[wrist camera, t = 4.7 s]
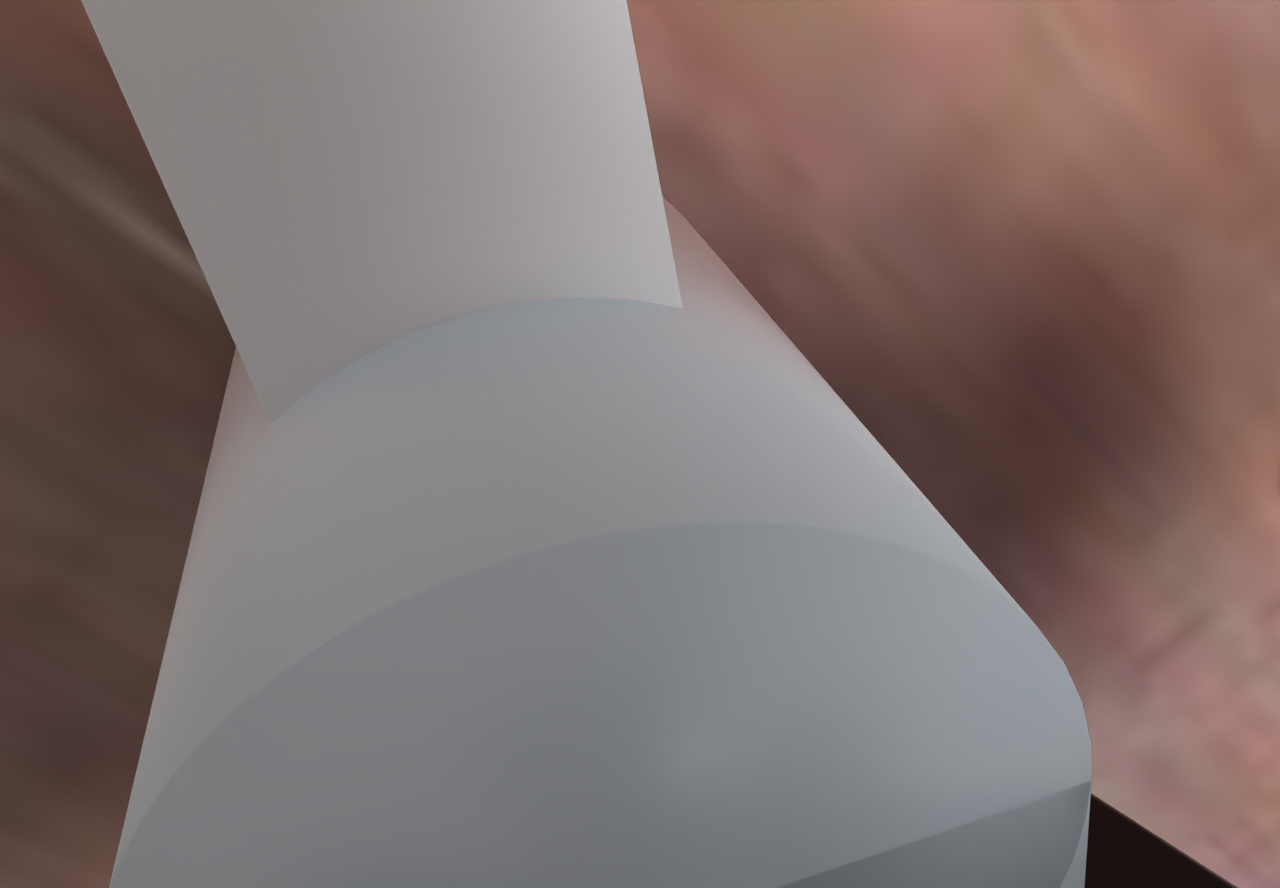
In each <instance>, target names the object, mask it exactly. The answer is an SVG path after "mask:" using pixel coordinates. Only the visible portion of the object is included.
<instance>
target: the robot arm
mask: <svg viewBox="0 0 1280 888" xmlns="http://www.w3.org/2000/svg"><path fill="white" fill-rule="evenodd" d="M1084 888H1238V887H1236V886H1234V885H1233V884H1231V883H1230V882H1228V881H1227V880H1225V879H1224V878H1222V877H1220V876H1219V875H1217V874H1216V873H1214V872H1213V871H1211V870H1210V869H1208V868H1206V867H1205V866H1203V865H1202V864H1200V863H1199V862H1197V861H1195V860H1194V859H1192V858H1191V857H1189V856H1188V855H1186V854H1185V853H1183V852H1181V851H1180V850H1178V849H1177V848H1175V847H1174V846H1172V845H1171V844H1169V843H1167V842H1166V841H1164V840H1163V839H1161V838H1160V837H1158V836H1157V835H1155V834H1153V833H1152V832H1150V831H1149V830H1147V829H1146V828H1144V827H1143V826H1141V825H1139V824H1138V823H1136V822H1135V821H1133V820H1132V819H1130V818H1129V817H1127V816H1125V815H1124V814H1122V813H1121V812H1119V811H1118V810H1116V809H1114V808H1113V807H1111V806H1110V805H1108V804H1107V803H1105V802H1104V801H1102V800H1100V799H1099V798H1097V797H1096V796H1094V795H1093V794H1091V798H1090V813H1089V827H1088V842H1087V857H1086V872H1085V886H1084Z"/></svg>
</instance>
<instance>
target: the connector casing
mask: <svg viewBox="0 0 1280 888" xmlns="http://www.w3.org/2000/svg"><path fill="white" fill-rule="evenodd" d="M81 2H82V4H83V6H84V8H85V10H86V13H87V15H88V17H89V19H90V22H91V24H92V26H93V28H94V31H95V33H96V35H97V37H98V39H99V42H100V44H101V46H102V48H103V51H104V53H105V55H106V57H107V60H108V62H109V64H110V66H111V68H112V71H113V73H114V75H115V77H116V80H117V82H118V84H119V86H120V89H121V91H122V93H123V95H124V97H125V100H126V102H127V104H128V106H129V109H130V111H131V113H132V115H133V118H134V120H135V122H136V124H137V126H138V129H139V131H140V133H141V135H142V138H143V140H144V142H145V144H146V147H147V149H148V151H149V153H150V155H151V158H152V160H153V162H154V164H155V167H156V169H157V171H158V173H159V176H160V178H161V180H162V182H163V184H164V187H165V189H166V191H167V193H168V196H169V198H170V200H171V202H172V205H173V207H174V209H175V211H176V213H177V216H178V218H179V220H180V222H181V225H182V227H183V229H184V231H185V234H186V236H187V238H188V240H189V242H190V245H191V247H192V249H193V251H194V254H195V256H196V258H197V260H198V263H199V265H200V267H201V269H202V272H203V274H204V276H205V278H206V280H207V283H208V285H209V287H210V289H211V292H212V294H213V296H214V298H215V301H216V303H217V305H218V307H219V309H220V312H221V314H222V316H223V318H224V321H225V323H226V325H227V327H228V330H229V332H230V334H231V336H232V338H233V341H234V343H235V345H236V348H235V353H234V357H233V361H232V365H231V370H230V374H229V378H228V383H227V387H226V391H225V395H224V400H223V404H222V408H221V412H220V417H219V421H218V425H217V429H216V434H215V438H214V442H213V446H212V451H211V455H210V459H209V464H208V468H207V472H206V476H205V481H204V485H203V489H202V493H201V498H200V502H199V506H198V510H197V515H196V519H195V523H194V528H193V532H192V536H191V540H190V545H189V549H188V553H187V557H186V562H185V566H184V570H183V574H182V579H181V583H180V587H179V591H178V596H177V600H176V604H175V609H174V613H173V617H172V621H171V626H170V630H169V634H168V638H167V643H166V647H165V651H164V655H163V660H162V664H161V668H160V673H159V677H158V681H157V685H156V690H155V694H154V698H153V702H152V707H151V711H150V715H149V719H148V724H147V728H146V732H145V736H144V741H143V745H142V749H141V754H140V758H139V762H138V766H137V771H136V775H135V779H134V783H133V788H132V792H131V796H130V800H129V805H128V809H127V813H126V818H125V822H124V826H123V830H122V835H121V839H120V843H119V847H118V852H117V856H116V860H115V864H114V869H113V873H112V877H111V882H110V886H109V888H1084V886H1085V872H1086V857H1087V842H1088V827H1089V813H1090V798H1091V783H1092V775H1091V740H1090V735H1089V731H1088V727H1087V722H1086V718H1085V713H1084V709H1083V704H1082V700H1081V698H1080V696H1079V694H1078V692H1077V690H1076V687H1075V685H1074V683H1073V681H1072V679H1071V676H1070V674H1069V672H1068V670H1067V668H1066V666H1065V663H1064V662H1063V660H1062V659H1061V658H1060V656H1059V655H1058V654H1057V652H1056V651H1055V650H1054V648H1053V647H1052V646H1051V644H1050V643H1049V642H1048V640H1047V639H1046V638H1045V636H1044V635H1043V634H1042V632H1041V631H1040V630H1039V628H1038V627H1037V626H1036V625H1035V623H1034V622H1033V621H1032V620H1031V619H1030V618H1029V616H1028V615H1027V614H1026V613H1025V612H1024V611H1023V609H1022V608H1021V607H1020V606H1019V605H1018V604H1017V603H1016V601H1015V600H1014V599H1013V598H1012V597H1011V596H1010V594H1009V593H1008V592H1007V591H1006V590H1005V589H1004V587H1003V586H1002V585H1001V584H1000V583H999V582H998V580H997V579H996V578H995V577H994V576H993V575H992V574H991V572H990V571H989V570H988V569H987V568H986V567H985V565H984V564H983V563H982V562H981V561H980V560H979V558H978V557H977V556H976V555H975V554H974V553H973V551H972V550H971V549H970V548H969V547H968V546H967V545H966V543H965V542H964V541H963V540H962V539H961V538H960V536H959V535H958V534H957V533H956V532H955V531H954V529H953V528H952V527H951V526H950V525H949V524H948V522H947V521H946V520H945V519H944V518H943V517H942V516H941V514H940V513H939V512H938V511H937V510H936V509H935V507H934V506H933V505H932V504H931V503H930V502H929V500H928V499H927V498H926V497H925V496H924V495H923V493H922V492H921V491H920V490H919V489H918V488H917V486H916V485H915V484H914V483H913V482H912V481H911V480H910V478H909V477H908V476H907V475H906V474H905V473H904V471H903V470H902V469H901V468H900V467H899V466H898V464H897V463H896V462H895V461H894V460H893V459H892V457H891V456H890V455H889V454H888V453H887V452H886V451H885V449H884V448H883V447H882V446H881V445H880V444H879V442H878V441H877V440H876V439H875V438H874V437H873V435H872V434H871V433H870V432H869V431H868V430H867V428H866V427H865V426H864V425H863V424H862V423H861V422H860V420H859V419H858V418H857V417H856V416H855V415H854V413H853V412H852V411H851V410H850V409H849V408H848V406H847V405H846V404H845V403H844V402H843V401H842V399H841V398H840V397H839V396H838V395H837V394H836V393H835V391H834V390H833V389H832V388H831V387H830V386H829V384H828V383H827V382H826V381H825V380H824V379H823V377H822V376H821V375H820V374H819V373H818V372H817V370H816V369H815V368H814V367H813V366H812V365H811V364H810V362H809V361H808V360H807V359H806V358H805V357H804V355H803V354H802V353H801V352H800V351H799V350H798V348H797V347H796V346H795V345H794V344H793V343H792V341H791V340H790V339H789V338H788V337H787V336H786V334H785V333H784V332H783V331H782V330H781V329H780V328H779V326H778V325H777V324H776V323H775V322H774V321H773V319H772V318H771V317H770V316H769V315H768V314H767V312H766V311H765V310H764V309H763V308H762V307H761V305H760V304H759V303H758V302H757V301H756V300H755V299H754V297H753V296H752V295H751V294H750V293H749V292H748V290H747V289H746V288H745V287H744V286H743V285H742V283H741V282H740V281H739V280H738V279H737V278H736V276H735V275H734V274H733V273H732V272H731V271H730V270H729V268H728V267H727V266H726V265H725V264H724V263H723V261H722V260H721V259H720V258H719V257H718V256H717V254H716V253H715V252H714V251H713V250H712V249H711V247H710V246H709V245H708V244H707V243H706V242H705V241H704V239H703V238H702V237H701V236H700V235H699V234H698V232H697V231H696V230H695V229H694V228H693V227H692V225H691V224H690V223H689V222H688V221H687V220H686V218H685V217H684V216H683V215H682V214H681V213H680V212H679V211H678V210H677V209H676V208H675V207H674V206H673V205H672V204H671V203H669V202H668V201H667V200H666V199H665V198H664V197H663V196H662V192H661V187H660V181H659V176H658V170H657V165H656V159H655V154H654V148H653V143H652V138H651V132H650V127H649V121H648V116H647V110H646V105H645V99H644V94H643V89H642V83H641V78H640V72H639V67H638V61H637V56H636V50H635V45H634V40H633V34H632V29H631V23H630V18H629V12H628V7H627V1H626V0H81Z"/></svg>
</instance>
